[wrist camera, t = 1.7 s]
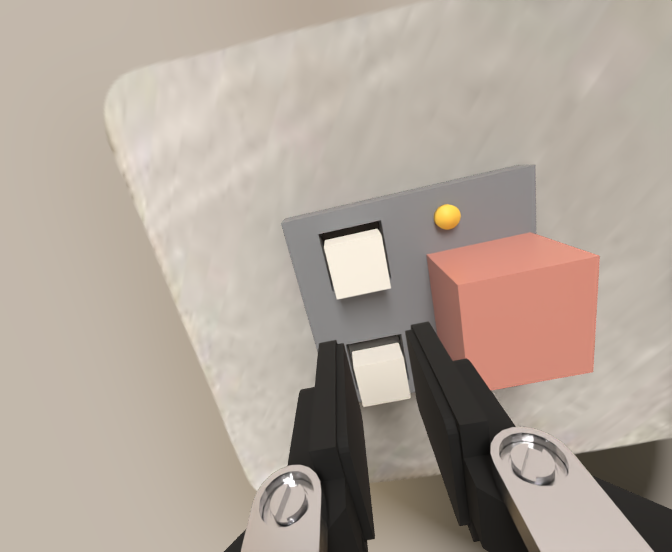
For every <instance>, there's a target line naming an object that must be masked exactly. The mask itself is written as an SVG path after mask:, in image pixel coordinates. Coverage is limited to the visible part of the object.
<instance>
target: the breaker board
mask: <svg viewBox="0 0 672 552" xmlns="http://www.w3.org/2000/svg"><path fill="white" fill-rule="evenodd" d="M375 221H378V222H379V228H380V233H381V235H382V241H383V246H384V252H385V257H386V263H387V269H388V274H389V280H390V285H391V288H390V289H385V290H380V291H376V292H371V293H366V294H361V295H356V296H352V297H347V298H342V299H337V298H336V294H335V290H334V286H333V282H332V278H331V274H330V270H329V266H328V262H327V258H326V253H325V249H324V244H323V240H322V236H321V234H322V233H326V232H331V231H335V230H340V229H344V228H349V227H353V226H357V225H362V224H366V223H371V222H375ZM281 225H282V229H283V232H284V236H285V239H286V243H287V246H288V250H289V253H290V257H291V260H292V264H293V267H294V271H295V274H296V278H297V281H298V285H299V288H300V292H301V295H302V299H303V302H304V306H305V309H306V313H307V316H308V320H309V323H310V327H311V330H312V334H313V337H314V341H315V344H316V348H317V351H318V348H319V343H322V342H327V341H332V340H337V343H338V344H340V343H344V346H345V349H346V353H347V357H348V361H349V365H350V369H351V373H352V377H353V381H354V385H355V389H356V393H357V397H358V401H359V402H362V400H361V396H360V392H359V388H358V384H357V380H356V376H355V372H354V367H353V363H352V359H351V354H350V350H349V346H348V344H352V343H357V342H363V341H368V340H373V339H378V338H383V337H388V336H393V335H398V334H399V338H400V344H401V349H402V355H403V358H404V363H405V368H406V374H407V379H408V385H409V391H410V393H412V392H415V387H414V381H413V376H412V370H411V364H410V358H409V352H408V347H407V341H406V335H405V331H406V330H411V325H412V324H417V323H422V322H427V321H429V323H430V324H431V326H432V327H433V329H434V331H435V332H436V334H437V330H436V322H435V315H434V308H433V300H432V293H431V285H430V278H429V270H428V263H427V254H432V253H436V252H441V251H445V250H450V249H455V248H459V247H464V246H469V245H473V244H478V243H483V242H487V241H492V240H497V239H501V238H506V237H511V236H515V235H520V234H525V233H529V232H531V233H534V234H536V173H535V165H516V166H512V167H507V168H503V169H499V170H494V171H490V172H486V173H481V174H477V175H473V176H468V177H464V178H460V179H455V180H451V181H447V182H442V183H438V184H434V185H429V186H425V187H421V188H416V189H412V190H407V191H403V192H399V193H394V194H390V195H386V196H381V197H377V198H373V199H368V200H364V201H360V202H355V203H351V204H347V205H342V206H338V207H334V208H329V209H325V210H321V211H316V212H312V213H308V214H303V215H299V216H295V217H290V218H286V219H285V220H284V221H283V222H282V223H281Z"/></svg>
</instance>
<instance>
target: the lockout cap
mask: <svg viewBox="0 0 672 552" xmlns="http://www.w3.org/2000/svg"><path fill="white" fill-rule="evenodd" d="M599 259H600V256H598V255H595V254H592V253H589V252H586V251H584V250H581V249H578V248H575V247H572V246H569V245H566V244H563V243H560V242H557V241H554V240H551V239H548V238H546V237H543V236H540V235H537V234H534V233H531V232H529V233H525V234H520V235H515V236H511V237H506V238H501V239H497V240H492V241H487V242H483V243H478V244H473V245H469V246H464V247H459V248H455V249H450V250H445V251H441V252H436V253H432V254H427V263H428V270H429V278H430V285H431V293H432V300H433V308H434V315H435V322H436V330H437V336H438V337H439V339H440V341H441V342H442V344H443V346H444V347H445V349H446V351H447V352H448V354H449V356H450V357H451V359H452V361H455V360H460V359H466V358H467V359H469V360H470V362H471V363H472V364H473V366H474V367H475V369H476V370H477V371H478V373H479V374H480V376H481V377H482V379H483V380H484V382H485V383H486V385H487V386H488V387H489V389H490V390H496V389H502V388H507V387H513V386H518V385H524V384H529V383H535V382H540V381H546V380H551V379H557V378H562V377H568V376H574V375H579V374H585V373H590V372H593V364H594V347H595V329H596V312H597V294H598V277H599Z"/></svg>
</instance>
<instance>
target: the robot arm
mask: <svg viewBox="0 0 672 552" xmlns="http://www.w3.org/2000/svg"><path fill="white" fill-rule="evenodd" d="M405 335H406V341H407V347H408V352H409V358H410V364H411V370H412V376H413V381H414V387H415V393H416V399H417V403H418V407H419V411H420V414H421V417H422V419H423V422H424V425H425V428H426V431H427V434H428V437H429V440H430V443H431V446H432V449H433V452H434V454H435V457H436V460H437V463H438V466H439V469H440V472H441V475H442V478H443V480H444V484H445V486H446V489H447V492H448V495H449V498H450V501H451V504H452V507H453V510H454V513H455V516H456V518H457V521H458V523H459V526H463V525H468V527H469V530H470V533H471V535H472V538H473V541H474V542H476V541H480V542H481V544H482V547H483V548H484V549H485V550H487V551H489V552H672V510H671V509H669V508H667V507H664V506H662V505H659V504H657V503H655V502H653V501H650V500H648V499H646V498H643V497H641V496H639V495H636V494H634V493H632V492H629V491H627V490H624V489H622V488H620V487H618V486H615V485H613V484H610V483H608V482H606V481H603V480H601V479H599V478H596V477H594V476H592V475H591V474H590V473H589V472H588V471H587V470H586V468H585V467H584V466H583V465H582V463H581V462H580V461H579V460H578V459H577V457H576V456H575V455H574V454H573V452H572V451H571V450H570V449H569V448H568V447H567V446H566V445H565V444H564V443H563V442H561V441H560V440H558V439H557V438H555V437H554V436H552V435H550V434H548V433H546V432H543V431H540V430H538V429H534V428H528V427H515V425H514V424H513V422H512V421H511V419H510V418H509V416H508V415H507V413H506V412H505V411H504V409H503V408H502V406H501V405H500V403H499V402H498V400H497V399H496V398H495V396H494V395H493V393H492V392H491V390H490V389H489V387H488V386H487V385H486V383H485V382H484V380H483V379H482V377H481V376H480V374H479V373H478V371H477V370H476V369H475V367H474V366H473V364H472V363H471V362H470V360H469V359H467V358H466V359H460V360H455V361H452V359H451V357H450V356H449V354H448V352H447V351H446V349H445V347H444V346H443V344H442V342H441V341H440V339H439V337H438V336H437V334H436V332H435V331H434V329H433V327H432V326H431V324H430V323H429V321H427V322H422V323H417V324H412V325H411V330H406V331H405ZM371 539H375V533H374V523H373V514H372V506H371V495H370V486H369V477H368V467H367V458H366V448H365V439H364V430H363V421H362V414H361V410H360V405H359V401H358V397H357V393H356V389H355V385H354V381H353V377H352V373H351V369H350V365H349V361H348V357H347V353H346V349H345V346H344V343H340V344H338V343H337V340H332V341H327V342H322V343H319V348H318V358H317V369H316V380H315V387H312V388H307V389H302V390H300V393H299V397H298V403H297V410H296V416H295V422H294V429H293V435H292V441H291V447H290V454H289V460H288V466H287V467H284V468H281V469H279V470H278V471H276V472H274V473H273V474H271V475H270V476H269V477H268V478H267V479H266V480H265V481H264V482H263V483H262V485H261V486H260V488H259V489H258V491H257V493H256V495H255V498H254V501H253V503H252V507H251V511H250V515H249V520H248V524H247V528H246V530H245V531H244V532H243V533H242V534H241V535H240V536H239V537H238V538H237V539H236V540H235V541H234V542H233V543H232V544H231V545H230V546H229V547H228V548H227V549H226V550H225V551H224V552H368V547H367V540H371Z"/></svg>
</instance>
